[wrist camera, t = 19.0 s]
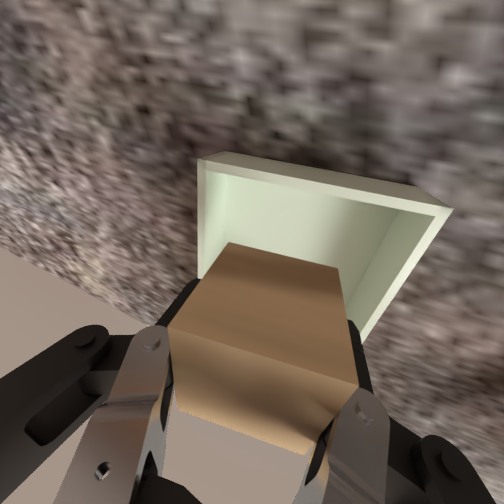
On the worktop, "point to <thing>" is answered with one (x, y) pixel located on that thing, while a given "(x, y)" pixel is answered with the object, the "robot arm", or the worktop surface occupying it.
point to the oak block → (264, 347)
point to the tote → (318, 223)
